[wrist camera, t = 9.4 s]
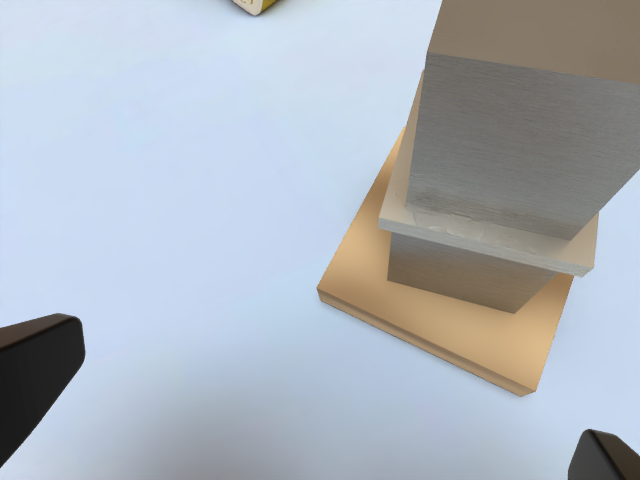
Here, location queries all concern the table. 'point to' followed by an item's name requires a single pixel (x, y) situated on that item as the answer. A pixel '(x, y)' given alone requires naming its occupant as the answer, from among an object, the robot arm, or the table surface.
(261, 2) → the juice carton
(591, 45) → the block
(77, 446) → the table surface
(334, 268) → the stand
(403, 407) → the table surface
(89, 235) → the table surface
